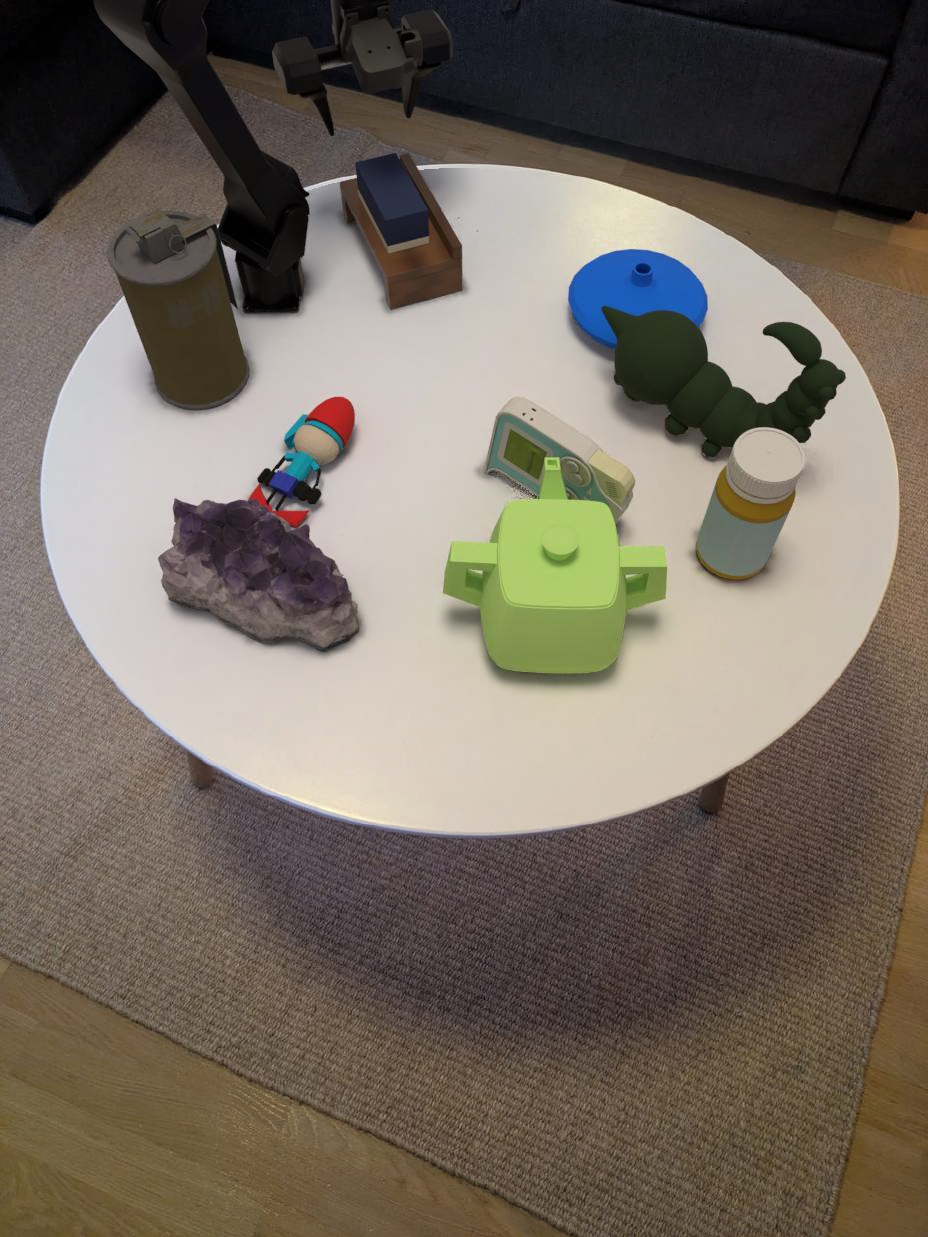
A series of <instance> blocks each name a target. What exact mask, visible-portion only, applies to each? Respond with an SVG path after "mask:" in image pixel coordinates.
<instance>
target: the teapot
mask: <svg viewBox="0 0 928 1237" xmlns="http://www.w3.org/2000/svg"><path fill="white" fill-rule="evenodd" d="M616 525H617V524H616ZM616 525H615V522H614V518H613V515H612V512H611V510H610V509H609V507H608V506H607V505H606V504H605V503H602V502H597V501H587V500H568V498H567V493H566V489H565V485H564V480H563V476H562V471H561V467H560V460H559V457H545V458H544V466H543V473H542V480H541V487H540V494H539V497H538V498H523V499H514V500H511V501H508V503H507V504H506V505H505V506H504V508H503V509H502V511H501V513H500V515H499V518H498V519H497V521H496V523H495V525H494V526H493V527H494V528H493V530H492V533H491V535H490V538H489V542H481V541H479V542H477V541H461V540H460V541H458V540H451V543H450V547H449V551H448V555H447V561H446V565H445V570H444V574H443V575H444V576H443V587H442V594H445V595H447V596H449V597H453V598H455V599H458V600H460V601H463V602H465V603H468V604H471V605H473V606H476V607H478V608H479V611H480V612H479V613H480V621H481V628H482V634H483V639H484V643H485V646H486V650H487V652H488V655H489V657H490V658H491V660H492V661H493V662H494V663H495V664H496V665H497V666H498V667H500V668H501V669H503V670H508V671H515V672H523V673H525V672H526V673H536V674H537V673H538V674H587V673H596V672H601V671H604V670H605V669H607V668H608V667H610V666H611V665H613V663H614V662H615V661H616V659H617V657H618V655H619V652H620V650H621V649H620V648H621V644H622V640H623V636H624V631H625V630H624V629H625V624H626V623H625V622H626V614H627V611H629V610H633V609H636V608H639V607H643V606H646V605H649V604H652V603H653V604H654V603H657V602H659V601H663V600H666V598H667V582H668V581H667V579H668V562H667V554H666V546H665V545H635V546H634V545H628V546H627V545H625V546H623V545H622V546H621V543H620V539H619V534H618V528H617V526H616ZM477 571H479V572H477ZM480 571H481V572H482V573H480ZM627 576H628V577H627Z"/></svg>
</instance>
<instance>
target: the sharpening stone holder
mask: <svg viewBox="0 0 928 1237" xmlns="http://www.w3.org/2000/svg"><path fill="white" fill-rule="evenodd" d="M399 159H400V161H401V163H402V165H403V166H404V168H405V170H406V172H407V173H408V175H409V177H410V179H411V181H412V182H413V184H414V186H415V188H416V189H417V191H418V193H419V195H420V197H421V198H422V200H423V202H424V204H425V205H426V207H427V209H428V222H429V243H428V244H424V245H420V246H417V247H413V248H409V249H405V250H401V251H397V252H393V253H390V254H388V252H387V250H386V248H385V246H384V244H383V242H382V240H381V238H380V236H379V234H378V233H377V231H376V229H375V227H374V225H373V223H372V221H371V219H370V217H369V215H368V213H367V211H366V209H365V207H364V205H363V203H362V201H361V199H360V198H359V194H358V185H357V177H354V178H350V179H346V180H342V181H339V190H340V198H341V205H342V214H343V218H344V220H345V222H346V223H347V224H350V223H355V222H356V224H357V226H358V228H359V230H360V232H361V234H362V236H363V238H364V240H365V242H366V244H367V246H368V248H369V249H370V252H371V254H372V256H373V258H374V259H375V262H376V264H377V266H378V268H379V269H380V271H381V273H382V275H383V281H384V294H385V302H386V304H387V306H388V308H389V310H391V311H392V310H395V309H398V308H403V307H407V306H410V305H413V304H417V303H421V302H424V301H428V300H432V299H436V298H439V297H443V296H446V295H450V294H455V293H459V292H461V291H463V244H462V243H461V241H460V239H459V237H458V236H457V234H456V233H455V231H454V229H453V227H452V225H451V224H450V222H449V220H448V218H447V217H446V215H445V213H444V211H443V210H442V208H441V206H440V205H439V203H438V201H437V199H436V198H435V196H434V194H433V192H432V191H431V189H430V187H429V185H428V183H427V182H426V180H425V179H424V177H423V175H422V173H421V172H420V170H419V168H418V165H417V164H416V162H415V161H414V159H413V158H412V156H411V154H410V153H409V152H407V153H403V154H400V155H399Z"/></svg>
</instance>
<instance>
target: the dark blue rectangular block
mask: <svg viewBox="0 0 928 1237" xmlns="http://www.w3.org/2000/svg"><path fill="white" fill-rule="evenodd" d="M354 165H355V176H356V178H357V185H358V194H359V198H360V199H361V201H362V203H363V205H364V207H365V209H366V211H367V213H368V215H369V217H370V219H371V221H372V223H373V225H374V227H375V229H376V231H377V233H378V234H379V236H380V238H381V240H382V242H383V244H384V246H385V248H386V250H387V252H388V254H390V253H393V252H397V251H401V250H405V249H409V248H413V247H417V246H420V245H424V244H428V243H429V222H428V209H427V207H426V205H425V204H424V202H423V200H422V198H421V197H420V195H419V193H418V191H417V189H416V188H415V186H414V184H413V182H412V181H411V179H410V177H409V175H408V173H407V172H406V170H405V168H404V166H403V165H402V163H401V161H400V156H398V154H397V152H393V153H389V154H385V155H379V156H376V157H372V158H367V159H363V160H359V161H355V163H354Z"/></svg>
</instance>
